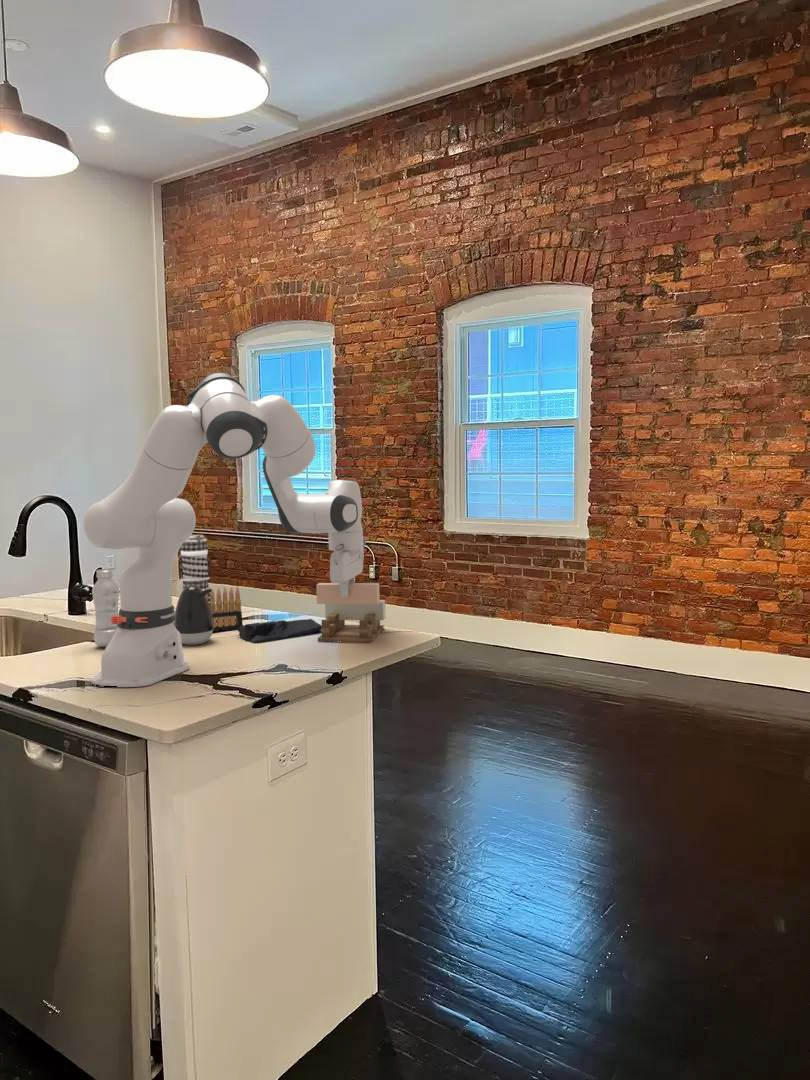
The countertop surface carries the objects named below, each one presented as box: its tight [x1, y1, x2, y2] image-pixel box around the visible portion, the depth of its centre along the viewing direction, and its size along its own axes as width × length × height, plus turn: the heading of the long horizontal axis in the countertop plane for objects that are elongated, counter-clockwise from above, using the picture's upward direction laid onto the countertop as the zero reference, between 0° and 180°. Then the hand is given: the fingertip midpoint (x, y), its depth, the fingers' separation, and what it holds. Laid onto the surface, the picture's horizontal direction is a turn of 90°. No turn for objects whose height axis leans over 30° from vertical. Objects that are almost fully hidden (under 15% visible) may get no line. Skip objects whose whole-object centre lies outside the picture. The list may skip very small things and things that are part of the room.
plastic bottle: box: [91, 568, 120, 648], centre depth 204 cm, size 6×7×20 cm
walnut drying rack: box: [317, 613, 385, 644], centre depth 212 cm, size 17×14×6 cm
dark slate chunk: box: [237, 618, 322, 644], centre depth 215 cm, size 15×22×5 cm
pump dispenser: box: [173, 585, 214, 646], centre depth 206 cm, size 10×10×15 cm
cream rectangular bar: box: [324, 599, 387, 621], centre depth 216 cm, size 16×3×5 cm, turn 80°
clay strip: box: [315, 582, 381, 605], centre depth 206 cm, size 16×3×5 cm, turn 79°
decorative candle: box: [178, 534, 211, 605], centre depth 242 cm, size 9×9×25 cm
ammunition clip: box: [205, 586, 244, 632], centre depth 222 cm, size 11×2×12 cm, turn 113°
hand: (347, 595), depth 206 cm, fingers closed on clay strip, 3 cm apart
